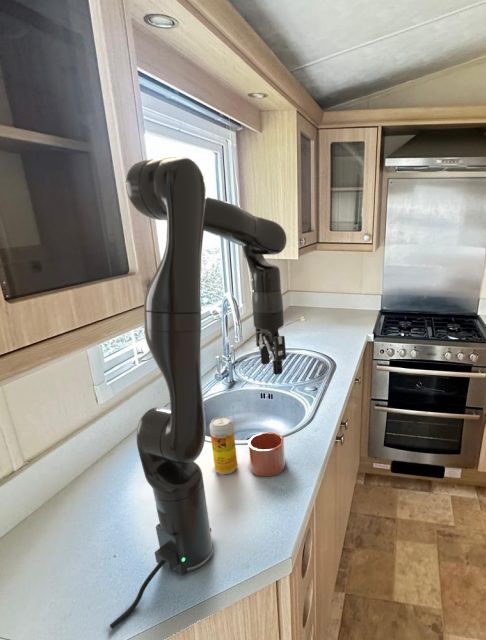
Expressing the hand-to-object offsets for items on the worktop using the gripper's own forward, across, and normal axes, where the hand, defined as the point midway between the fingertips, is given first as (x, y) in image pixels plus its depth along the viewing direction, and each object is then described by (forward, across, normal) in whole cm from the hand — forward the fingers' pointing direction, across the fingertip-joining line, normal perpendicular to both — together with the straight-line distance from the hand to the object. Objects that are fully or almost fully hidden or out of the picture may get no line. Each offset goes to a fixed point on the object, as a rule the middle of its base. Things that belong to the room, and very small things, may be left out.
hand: (271, 368), depth 107 cm
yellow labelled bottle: (+28, -2, -14) cm, 32 cm away
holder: (+28, +2, -4) cm, 28 cm away
